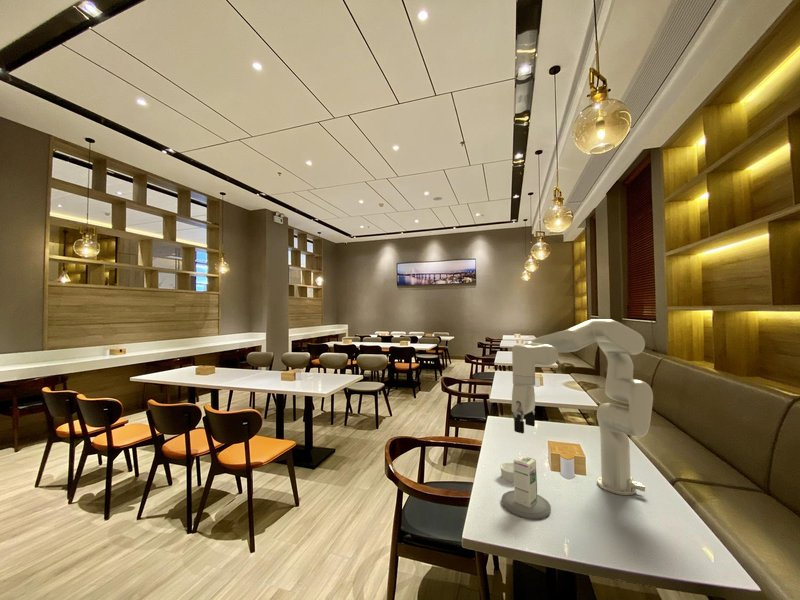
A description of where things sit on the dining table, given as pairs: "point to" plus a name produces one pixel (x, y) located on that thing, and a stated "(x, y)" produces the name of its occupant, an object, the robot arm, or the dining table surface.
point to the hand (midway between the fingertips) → (524, 428)
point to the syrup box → (525, 481)
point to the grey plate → (534, 513)
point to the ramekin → (507, 471)
